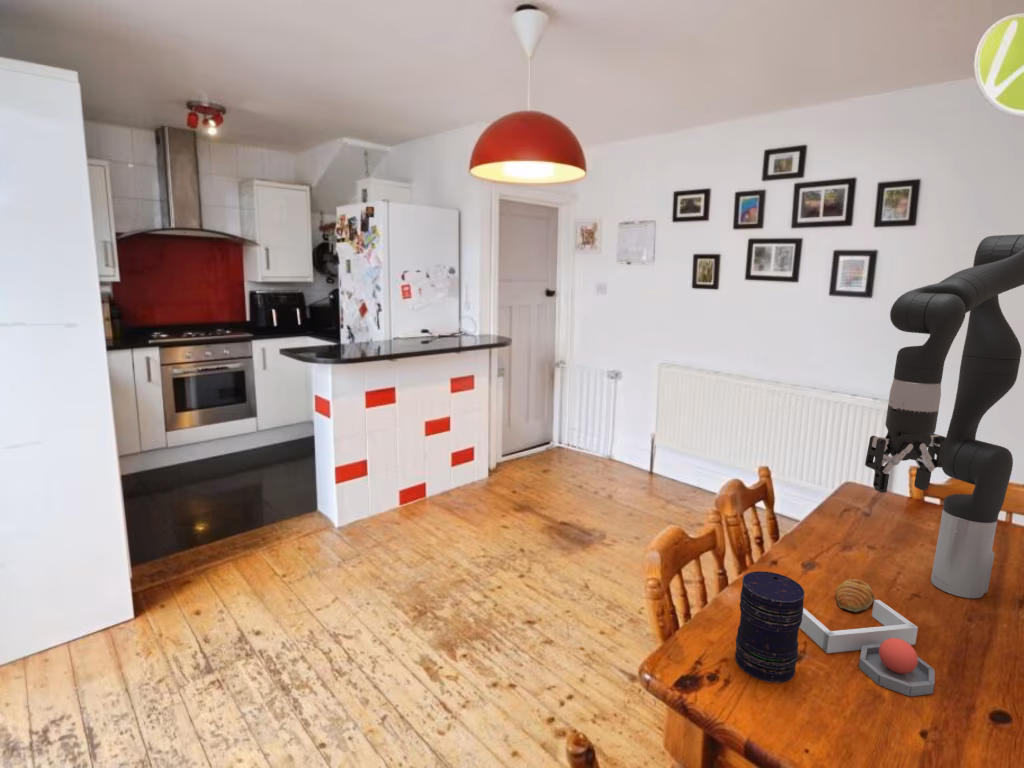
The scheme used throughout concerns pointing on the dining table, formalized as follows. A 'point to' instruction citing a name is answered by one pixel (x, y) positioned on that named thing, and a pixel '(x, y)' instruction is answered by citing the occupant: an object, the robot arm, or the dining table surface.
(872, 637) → the white u-shaped bracket
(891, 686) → the dish
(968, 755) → the dining table surface
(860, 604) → the pastry
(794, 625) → the dark blue ridged cylinder
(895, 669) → the ball
